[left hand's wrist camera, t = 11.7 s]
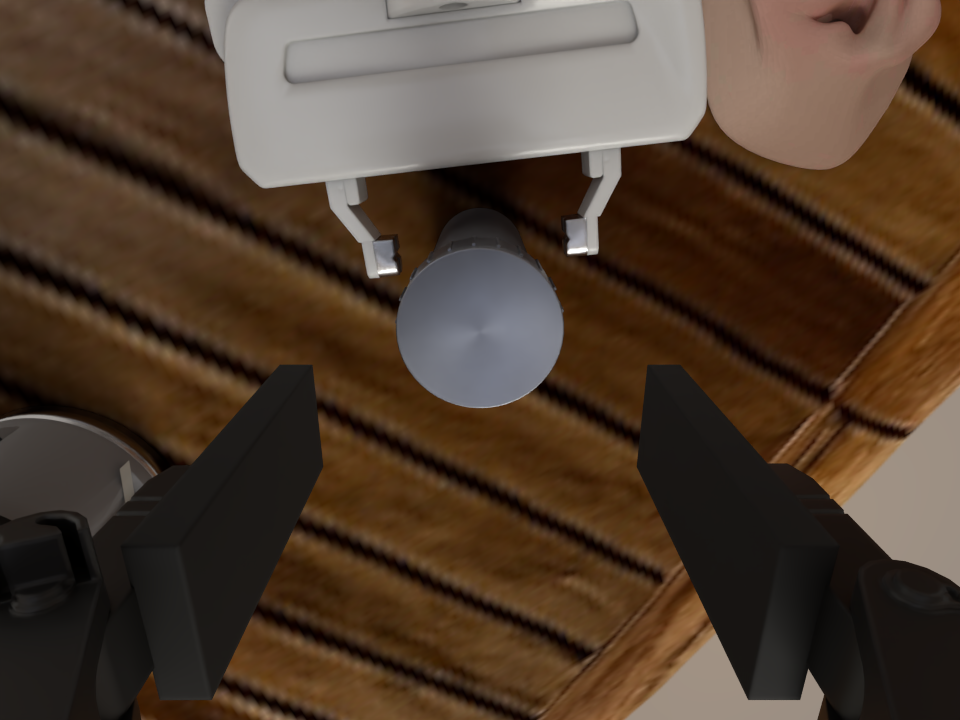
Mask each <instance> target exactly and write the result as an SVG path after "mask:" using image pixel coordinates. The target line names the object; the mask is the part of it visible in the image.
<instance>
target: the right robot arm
mask: <svg viewBox="0 0 960 720" xmlns="http://www.w3.org/2000/svg"><path fill="white" fill-rule="evenodd" d="M205 10H206V14H207V18H208V22H209V27H210V31H211V35H212V39H213V43H214V46H215V48H216V51H217V53H218V55H219V57H220V59H221V60H222V62H223V63H224V64H225V79H226V90H227V100H228V108H229V116H230V122H231V129H232V135H233V141H234V146H235V151H236V156H237V160H238V163H239V166H240V168H241V169H242V170H243V172H244V173H246V174H247V175H248V176H249V177H250V178H251V179H252V180H253V181H254V182H255V183H256V184H257V185H259V186H260V187H262V188H273V187H282V186H290V185H299V184H308V183H316V182H326V187H327V193H328V198H329V203H330V208H331V209H332V211H333V212H334V213H335V214H336V215H337V217H338V218H339V219H340V220H341V221H342V223H343V224H344V225H345V226H346V228H347V229H348V230H349V231H350V232H351V234H352V235H353V236H354V237H355V239H356V240H357V241H358V242H359V243H362V247H363V253H364V259H365V264H366V270H367V274H368V276H369V278H379V277H387V276H395V275H400V272H402V259H401V256H400V255H399V254H398V252H397V251H398V249H399V247H400V246H399V240H398V234H392V235H381V234H380V232H379V231H378V230H377V228H376V227H375V226H374V224H373V223H372V222H371V220H370V219H369V218H368V216H367V215H366V214H365V212H364V211H363V210H362V208H361V207H360V206H359V204H360V203H362V202H364V201H365V200H367V198H368V193H367V187H366V181H365V177H369V176H377V175H386V174H395V173H403V172H412V171H421V170H429V169H438V168H447V167H455V166H464V165H473V164H481V163H490V162H499V161H507V160H516V159H525V158H533V157H542V156H551V155H559V154H568V153H577V152H581V156H582V172H583V174H584V175H586V176H589V177H592V178H593V180H592V182H591V185H590V187H589V189H588V191H587V193H586V195H585V197H584V199H583V202H582V204H581V206H580V208H579V210H578V212H577V213H578V214H571V215H564V216H561V226H562V230H563V232H564V233H565V235H564V237H563V238H562V242H563V251H564V254H566V256H567V257H572V256H583V255H592V254H597V253H598V247H599V245H598V219H597V216H600V215H601V213H602V211H603V209H604V208H605V206H606V204H607V202H608V200H609V198H610V196H611V194H612V192H613V190H614V188H615V186H616V184H617V182H618V180H619V179H620V177H621V147H629V146H638V145H646V144H655V143H664V142H672V141H681V140H685V139H687V138H688V137H689V136H690V135H691V134H692V132H693V131H694V129H695V128H696V127H697V125H698V124H699V122H700V121H701V119H702V117H703V116H704V113H705V111H706V104H707V56H706V39H705V26H704V17H703V8H702V0H205ZM380 235H381V236H380Z"/></svg>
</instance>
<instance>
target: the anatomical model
mask: <svg viewBox="0 0 960 720" xmlns="http://www.w3.org/2000/svg"><path fill="white" fill-rule="evenodd" d="M702 8H703V17H704V26H705V39H706V56H707V100H708V103H709V107H710V109H711V112H712V114H713V117H714V119H715V120H716V122H717V124H718V125H719V127H720V128H721V129H722V130H723V131H724V132H725V134H726V135H727V136H728V137H730V138H731V139H732V140H733V141H734V142H736V143H737V144H739V145H741V146H742V147H744V148H745V149H747V150H749V151H751V152H753V153H755V154H757V155H760V156H762V157H765V158H768V159H770V160H773V161H776V162H779V163H783V164H787V165H791V166H795V167H800V168H807V169H817V170H822V169H830V168H833V167H836V166H838V165H841V164H842V163H844V162H845V161H847V160H848V159H849V158H850V157H851V156H852V155H853V154H854V153H855V152H856V151H857V150H858V149H859V148H860V146H861V145H862V144H863V143H864V141H865V140H866V139H867V137H868V136H869V134H870V133H871V132H872V130H873V129H874V127H875V126H876V124H877V123H878V121H879V120H880V118H881V117H882V115H883V114H884V112H885V111H886V109H887V108H888V106H889V105H890V103H891V101H892V99H893V97H894V95H895V94H896V92H897V90H898V88H899V86H900V84H901V82H902V80H903V78H904V76H905V74H906V72H907V69H908V67H909V64H910V61H911V58H912V54H913V53H914V52H915V51H916V50H918V49H919V48H920V47H921V46H922V45H923V44H924V43H925V42H926V41H927V40H928V39H929V38H930V37H931V36H932V35H933V33H934V32H935V30H936V28H937V27H938V24H939V22H940V18H941V4H940V0H702Z"/></svg>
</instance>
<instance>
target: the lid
mask: <svg viewBox="0 0 960 720" xmlns="http://www.w3.org/2000/svg"><path fill="white" fill-rule="evenodd" d="M410 280H411V281H410V283H409V285H408V287H405V289H404V291H403V293H402V295H401V297H400V299H399V301H401V302H400V305H399V308H398V313H397V319H396V321H395V323H396V335H397V342H398V347H399V351H400V353H401V356H402V359H403V361H404V363H405V365H406V366H407V368H408V370H409V371H410V373H411V374H412V375H413V377H414V378H415V379H416V380H417V381H418V382H419V383H420V384H421V385H422V386H423V387H424V388H425V389H427V390H428V391H429V392H431V393H432V394H434V395H435V396H437V397H438V398H441V399H443V400H445V401H447V402H450V403H453V404H456V405H460V406H464V407H472V408H489V407H496V406H501V405H504V404H508V403H510V402H513V401H515V400H518V399H520V398H521V397H523V396H525V395H527V394H528V393H529V392H531V391H532V390H533V389H535V388H536V387H537V386H538V385H539V384H540V383H541V382H542V381H543V380H544V379H545V378H546V377H547V375H548V374H549V373H550V371H551V370H552V368H553V366H554V365H555V363H556V361H557V358H558V356H559V354H560V350H561V347H562V343H563V336H564V320H563V313H562V312H564V311H563V308H562V306H561V304H560V302H559V300H558V297H557V295H556V293H555V290H557V289H556V287H555V285H554V283H553V281H552V279H551V277H549V278H548V277H547V275H546V273H545V272H544V270H543V269H542V267H541V265H540V263H539V261H538V260H537V259H536V260H534V259H533V258H532V257H531V256H530V255H529V254H527V253H526V252H525V251H523V250H522V249H521V246H519V245H518V246H517V247H516V246H515V245H513V244H510V243H507V242H505V241H502V240H499V238H497V237H496V239H493V238H482V237H481V238H476V236H473V238H468V239H462V240H459V241H455V242H453V240H452V241H450V243H449V244H448V245H446V246H443V247H441V248H440V249H438V250H437V251H435V252H434V253H433V252H430V254H429V256H428V258H427V259H425V261H424V262H423V263H422V264H421V265H420V266H419V267H418V268H415V269H414V271H413V273H412V275H411V277H410Z"/></svg>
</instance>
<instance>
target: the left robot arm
mask: <svg viewBox="0 0 960 720" xmlns="http://www.w3.org/2000/svg"><path fill="white" fill-rule="evenodd" d="M322 468H323V460H322V451H321V441H320V432H319V423H318V413H317V404H316V394H315V385H314V376H313V366H312V365H279V366H278V368H277V369H276V370H275V371H274V372H273V373H272V374H271V376H270V377H269V378H268V379H267V380H266V381H265V382H264V383H263V385H262V386H261V387H260V388H259V389H258V390H257V391H256V393H255V394H254V395H253V396H252V397H251V398H250V399H249V400H248V402H247V403H246V404H245V405H244V406H243V407H242V408H241V409H240V411H239V412H238V413H237V414H236V415H235V416H234V417H233V419H232V420H231V421H230V422H229V423H228V424H227V425H226V426H225V428H224V429H223V430H222V431H221V432H220V433H219V434H218V436H217V437H216V438H215V439H214V440H213V441H212V442H211V443H210V445H209V446H208V447H207V448H206V449H205V450H204V451H203V452H202V454H201V455H200V456H199V457H198V458H197V459H196V460H195V462H194V463H193V464H192V465H191V466H171V467H170V468H169V467H168V465H167V464H166V463H165V462H164V460H163V459H162V458H161V457H160V456H159V455H158V454H157V452H156V451H155V450H154V449H153V448H151V447H150V446H149V445H148V444H147V443H146V442H145V441H144V440H142V439H141V438H140V437H138V436H137V435H136V434H134V433H133V432H131V431H130V430H128V429H127V428H125V427H123V426H121V425H120V424H118V423H116V422H114V421H112V420H110V419H107V418H105V417H103V416H100V415H97V414H94V413H92V412H88V411H84V410H81V409H76V408H71V407H63V406H33V407H26V408H21V409H18V410H14V411H11V412H8V413H6V414H3V415H1V416H0V720H141V716H140V709H139V705H138V701H137V698H136V696H137V695H138V693H139V691H140V690H141V688H142V686H143V685H144V683H145V682H146V680H147V678H148V677H149V675H150V673H151V672H152V671H153V675H154V679H155V683H156V687H157V691H158V694H159V698H160V700H212V698H213V696H214V694H215V692H216V690H217V688H218V686H219V684H220V681H221V679H222V677H223V675H224V673H225V671H226V669H227V667H228V665H229V663H230V661H231V658H232V656H233V654H234V652H235V650H236V648H237V646H238V644H239V642H240V640H241V638H242V635H243V633H244V631H245V629H246V627H247V625H248V623H249V621H250V619H251V617H252V615H253V612H254V610H255V608H256V606H257V604H258V602H259V600H260V598H261V596H262V594H263V592H264V589H265V587H266V585H267V583H268V581H269V579H270V577H271V575H272V573H273V571H274V568H275V566H276V564H277V562H278V560H279V558H280V556H281V554H282V552H283V550H284V548H285V545H286V543H287V541H288V539H289V537H290V535H291V533H292V531H293V529H294V527H295V525H296V522H297V520H298V518H299V516H300V514H301V512H302V510H303V508H304V506H305V504H306V502H307V499H308V497H309V495H310V493H311V491H312V489H313V487H314V485H315V483H316V481H317V479H318V476H319V474H320V472H321V470H322ZM637 468H638V470H639V472H640V474H641V476H642V479H643V481H644V483H645V485H646V487H647V489H648V491H649V493H650V495H651V497H652V499H653V502H654V504H655V506H656V508H657V510H658V512H659V514H660V516H661V518H662V520H663V522H664V525H665V527H666V529H667V531H668V533H669V535H670V537H671V539H672V541H673V543H674V545H675V548H676V550H677V552H678V554H679V556H680V558H681V560H682V562H683V564H684V566H685V569H686V571H687V573H688V575H689V577H690V579H691V581H692V583H693V585H694V587H695V589H696V592H697V594H698V596H699V598H700V600H701V602H702V604H703V606H704V608H705V610H706V612H707V615H708V617H709V619H710V621H711V623H712V625H713V627H714V629H715V631H716V633H717V635H718V638H719V640H720V642H721V644H722V646H723V648H724V650H725V652H726V654H727V656H728V658H729V661H730V663H731V665H732V667H733V669H734V671H735V673H736V675H737V677H738V679H739V681H740V684H741V686H742V688H743V690H744V692H745V694H746V696H747V698H748V700H800V698H801V694H802V691H803V687H804V683H805V679H806V675H807V671H808V669H809V670H810V672H811V674H812V675H813V677H814V679H815V680H816V682H817V683H818V685H819V687H820V688H821V690H822V691H823V693H824V698H823V701H822V705H821V709H820V712H819V716H818V720H960V587H959V586H958V585H956V584H955V583H954V582H952V581H951V580H950V579H948V578H946V577H944V576H942V575H940V574H938V573H936V572H934V571H932V570H930V569H928V568H925V567H922V566H919V565H915V564H912V563H909V562H906V561H899V560H892V559H891V558H890V557H889V556H888V555H887V554H886V553H885V552H884V551H883V550H882V549H881V548H880V547H879V546H878V545H877V544H876V543H875V542H874V541H873V540H872V539H871V537H870V536H869V535H868V534H867V533H866V532H865V531H864V530H863V529H862V528H861V527H860V526H859V525H858V524H857V523H856V522H855V521H854V520H853V519H852V518H851V517H850V516H849V515H848V514H844V510H843V509H842V508H841V507H840V506H839V505H838V504H837V503H836V502H835V501H834V500H833V499H830V496H829V495H828V494H827V492H826V491H825V490H824V489H823V488H822V487H821V486H820V485H819V484H818V483H817V482H816V481H815V480H814V479H813V478H811V477H809V476H808V475H806V474H804V473H803V472H801V471H799V470H797V469H796V468H794V467H792V466H791V465H789V464H767V463H766V462H765V460H764V459H763V458H762V457H761V456H760V455H759V454H758V452H757V451H756V450H755V449H754V448H753V447H752V446H751V445H750V443H749V442H748V441H747V440H746V439H745V438H744V437H743V436H742V434H741V433H740V432H739V431H738V430H737V429H736V428H735V426H734V425H733V424H732V423H731V422H730V421H729V420H728V419H727V417H726V416H725V415H724V414H723V413H722V412H721V411H720V409H719V408H718V407H717V406H716V405H715V404H714V403H713V402H712V400H711V399H710V398H709V397H708V396H707V395H706V394H705V393H704V391H703V390H702V389H701V388H700V387H699V386H698V385H697V383H696V382H695V381H694V380H693V379H692V378H691V377H690V376H689V374H688V373H687V372H686V371H685V370H684V369H683V368H682V366H681V365H648V366H647V376H646V385H645V394H644V404H643V413H642V423H641V432H640V441H639V451H638V460H637Z"/></svg>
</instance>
